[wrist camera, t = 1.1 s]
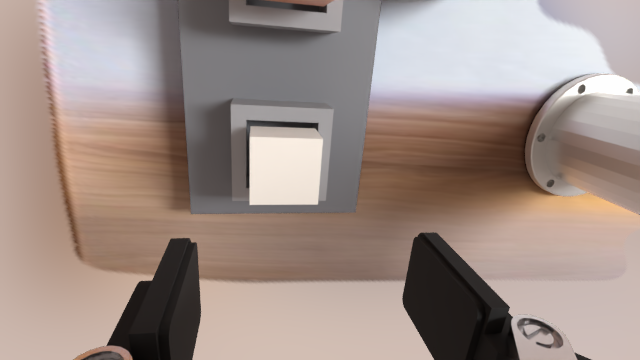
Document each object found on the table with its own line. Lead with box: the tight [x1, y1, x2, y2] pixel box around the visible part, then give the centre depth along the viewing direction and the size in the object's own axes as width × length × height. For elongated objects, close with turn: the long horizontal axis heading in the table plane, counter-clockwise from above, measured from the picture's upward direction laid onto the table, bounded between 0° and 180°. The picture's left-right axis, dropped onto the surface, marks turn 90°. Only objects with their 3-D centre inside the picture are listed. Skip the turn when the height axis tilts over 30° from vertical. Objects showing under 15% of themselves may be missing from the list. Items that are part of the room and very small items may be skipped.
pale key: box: [250, 126, 323, 205], centre depth 23 cm, size 4×4×3 cm
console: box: [178, 0, 381, 214], centre depth 25 cm, size 14×24×6 cm, turn 176°
